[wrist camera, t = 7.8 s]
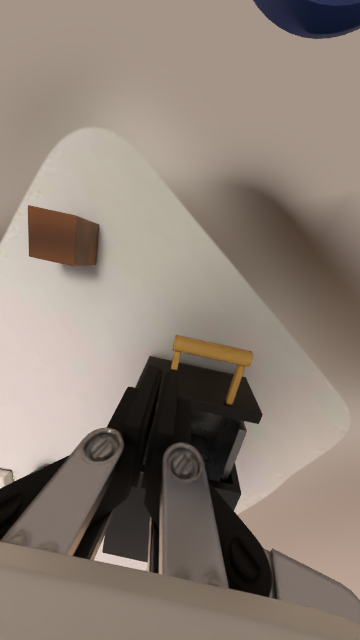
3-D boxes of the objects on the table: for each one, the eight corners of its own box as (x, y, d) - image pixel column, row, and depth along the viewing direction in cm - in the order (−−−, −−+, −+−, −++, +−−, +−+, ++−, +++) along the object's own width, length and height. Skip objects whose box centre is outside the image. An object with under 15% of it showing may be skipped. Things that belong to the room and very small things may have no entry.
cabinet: (136, 410, 28) (115, 466, 20) (228, 430, 28) (241, 494, 20) (123, 483, 33) (102, 552, 25) (202, 501, 33) (205, 575, 25)
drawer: (157, 313, 23) (144, 331, 17) (260, 335, 23) (284, 362, 17) (134, 442, 29) (118, 489, 23) (215, 460, 29) (222, 512, 23)
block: (59, 216, 21) (27, 205, 17) (99, 224, 21) (76, 215, 17) (59, 257, 23) (28, 256, 18) (96, 265, 23) (73, 266, 18)
